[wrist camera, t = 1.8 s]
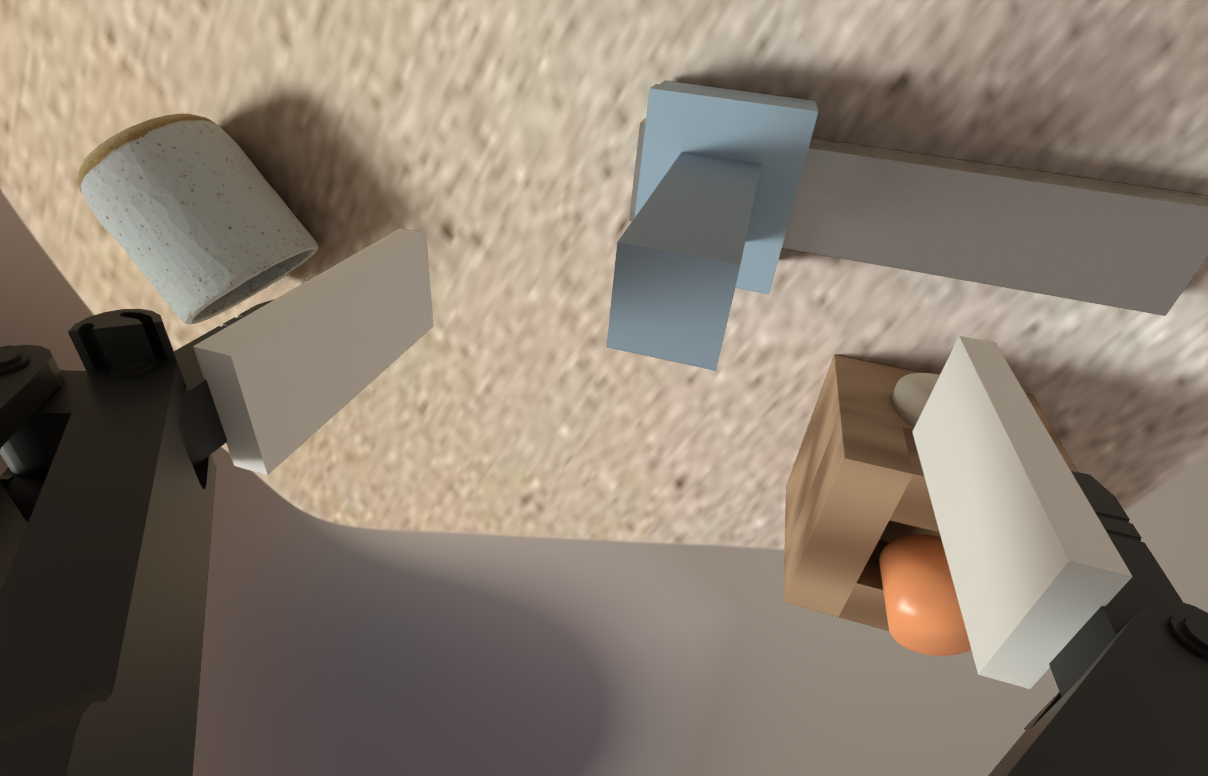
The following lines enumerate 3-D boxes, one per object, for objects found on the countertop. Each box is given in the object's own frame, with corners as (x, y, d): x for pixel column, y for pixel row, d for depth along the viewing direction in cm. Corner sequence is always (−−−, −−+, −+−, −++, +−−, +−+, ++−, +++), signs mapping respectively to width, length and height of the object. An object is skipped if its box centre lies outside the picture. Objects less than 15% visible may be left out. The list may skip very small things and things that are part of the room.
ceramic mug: (233, 90, 30) (85, 118, 24) (345, 230, 33) (238, 287, 27) (147, 196, 35) (9, 240, 29) (250, 308, 38) (143, 371, 32)
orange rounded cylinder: (895, 525, 24) (907, 590, 21) (980, 546, 23) (1002, 615, 21) (868, 576, 26) (876, 640, 23) (946, 596, 25) (963, 664, 23)
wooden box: (838, 344, 29) (849, 446, 22) (1039, 384, 27) (1114, 506, 21) (786, 487, 34) (783, 602, 28) (951, 527, 33) (989, 658, 26)
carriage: (665, 77, 24) (562, 146, 14) (816, 97, 23) (832, 189, 13) (644, 242, 28) (551, 394, 18) (771, 265, 27) (755, 441, 17)
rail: (649, 114, 25) (640, 123, 24) (1207, 195, 22) (1239, 211, 20) (638, 207, 28) (629, 220, 26) (1141, 294, 24) (1165, 315, 23)
